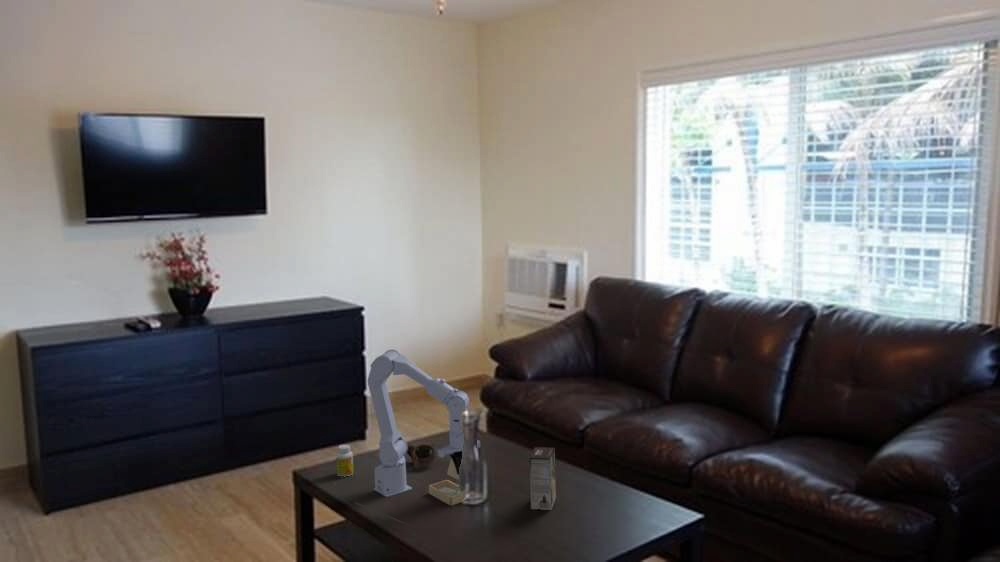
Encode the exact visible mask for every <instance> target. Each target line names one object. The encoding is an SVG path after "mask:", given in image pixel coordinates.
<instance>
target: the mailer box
mask: <svg viewBox="0 0 1000 562" xmlns="http://www.w3.org/2000/svg"><path fill="white" fill-rule="evenodd" d="M459 486H460V484H457V483H455V482H453V481H451V480H449V479H445V480H441V481H439V482H435V483H432V484H428V494H429V495H431V496H433V497H434V498H436V499H437V500H440V501H442V502H443V503H445V504H446V505H449V506H454V505H457V504H460V503H463V502H464V501H463V500H464V498H465V495H466V494H467V492H463V493H459V494H456V495H453V496H450V495H448V494H446V493H444V492H442V491H440V490H439V489H442V488H444V487H447V488H450V489H453V490H455V491H458V489H459ZM462 501H463V502H462Z"/></svg>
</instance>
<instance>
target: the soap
mask: <svg viewBox="0 0 1000 562" xmlns="http://www.w3.org/2000/svg"><path fill="white" fill-rule="evenodd" d="M439 490H440V491H442V492H444V493H446V494H448V495H450V496H453V495H456V494H457V491H455V490H453V489H450V488H447V487H444V488H442V489H439Z"/></svg>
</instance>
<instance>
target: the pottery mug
mask: <svg viewBox="0 0 1000 562" xmlns="http://www.w3.org/2000/svg"><path fill="white" fill-rule="evenodd" d="M407 447H408V449H407V452H406V454H407V455H408V456H409V457H410V459H411V461H412V462H414V463H413V468H414V469H416V468H418V469H419V468H422V467H425V466H429V465H431V463H433V462H434V461H435V460H437V459H438V458H437V456H436V454H437V451H436V450H435V448H434V446H432V445H431V444H428V443H420V444H417V445H416V446H414V445H407ZM430 452H431V453H430Z"/></svg>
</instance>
